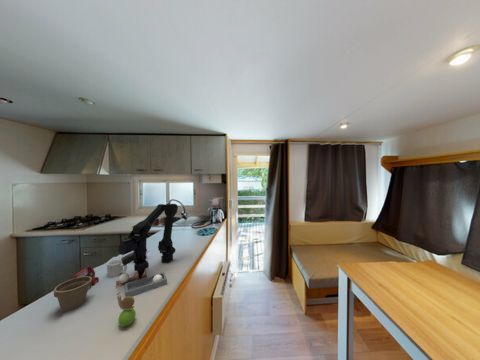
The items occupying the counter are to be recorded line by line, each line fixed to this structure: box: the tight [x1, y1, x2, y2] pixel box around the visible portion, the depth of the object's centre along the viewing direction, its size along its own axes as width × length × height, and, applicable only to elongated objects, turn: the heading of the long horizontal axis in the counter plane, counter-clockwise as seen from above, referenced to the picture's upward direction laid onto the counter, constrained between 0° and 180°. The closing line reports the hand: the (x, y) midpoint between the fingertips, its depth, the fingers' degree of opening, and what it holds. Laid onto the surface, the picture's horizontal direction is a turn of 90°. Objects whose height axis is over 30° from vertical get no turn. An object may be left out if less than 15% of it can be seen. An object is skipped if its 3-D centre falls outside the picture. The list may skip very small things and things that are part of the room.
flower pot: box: [53, 276, 92, 313], centre depth 69 cm, size 12×11×10 cm
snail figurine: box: [116, 291, 137, 327], centre depth 61 cm, size 5×6×12 cm
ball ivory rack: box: [118, 272, 130, 283], centre depth 85 cm, size 4×4×4 cm
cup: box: [106, 258, 128, 278], centre depth 93 cm, size 11×8×8 cm
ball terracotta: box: [134, 270, 146, 278], centre depth 89 cm, size 4×4×4 cm
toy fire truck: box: [72, 265, 99, 291], centre depth 81 cm, size 7×12×10 cm, turn 9°
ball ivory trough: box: [152, 273, 163, 283], centre depth 84 cm, size 4×4×4 cm
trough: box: [124, 272, 168, 298], centre depth 81 cm, size 18×8×4 cm, turn 127°
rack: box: [115, 272, 148, 289], centre depth 87 cm, size 14×7×2 cm, turn 127°
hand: (139, 275), depth 89 cm, fingers closed on ball terracotta, 4 cm apart
